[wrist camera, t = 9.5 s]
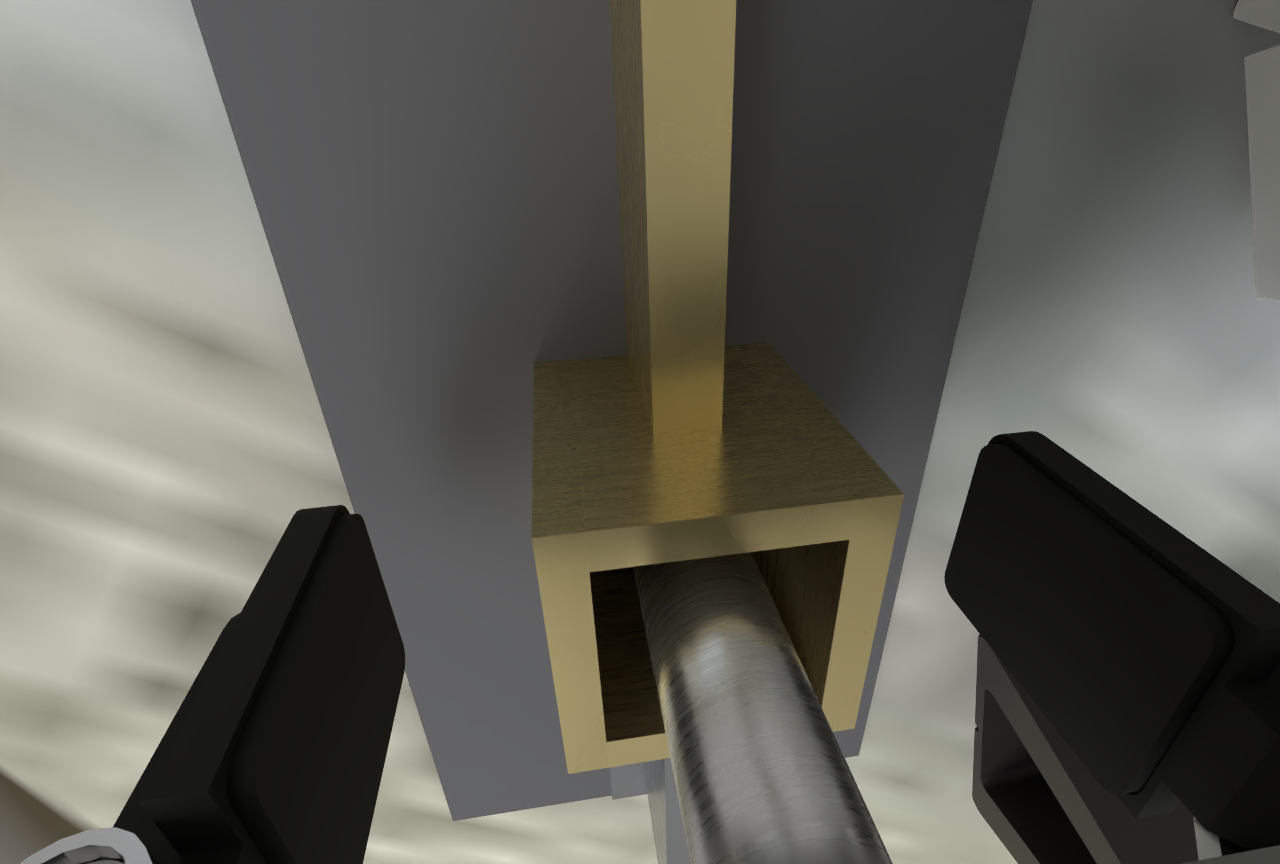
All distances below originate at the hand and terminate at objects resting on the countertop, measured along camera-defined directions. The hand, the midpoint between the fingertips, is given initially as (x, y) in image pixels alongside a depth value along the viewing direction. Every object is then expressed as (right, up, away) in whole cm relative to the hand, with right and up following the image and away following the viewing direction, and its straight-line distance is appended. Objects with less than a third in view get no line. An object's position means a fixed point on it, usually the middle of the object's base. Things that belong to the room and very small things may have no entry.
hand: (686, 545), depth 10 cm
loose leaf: (0, +5, +1) cm, 5 cm away
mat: (0, +1, +4) cm, 4 cm away
